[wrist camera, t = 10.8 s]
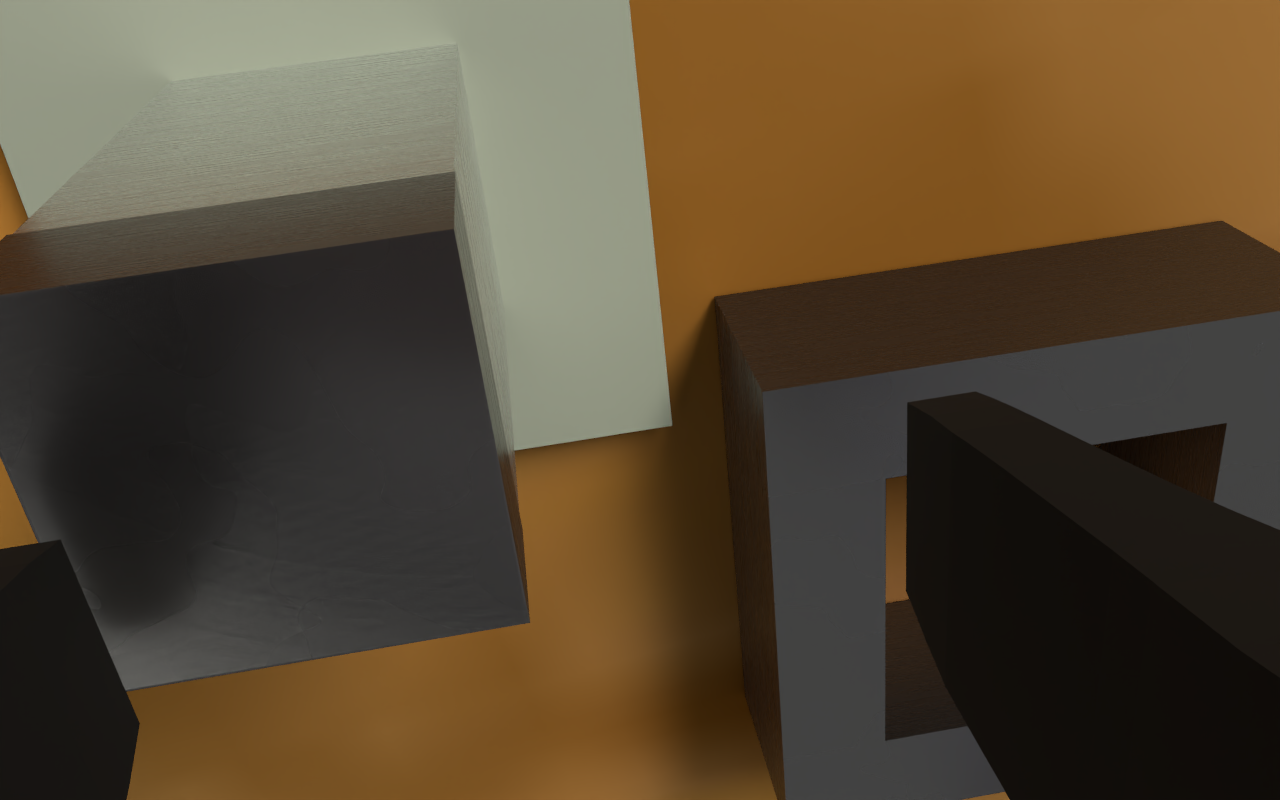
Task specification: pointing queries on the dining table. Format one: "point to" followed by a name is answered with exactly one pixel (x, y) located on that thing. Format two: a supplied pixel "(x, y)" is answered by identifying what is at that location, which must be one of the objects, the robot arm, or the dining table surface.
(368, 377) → the key peg
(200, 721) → the dining table surface
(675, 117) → the dining table surface
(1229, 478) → the socket block
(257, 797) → the dining table surface
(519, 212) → the mat
